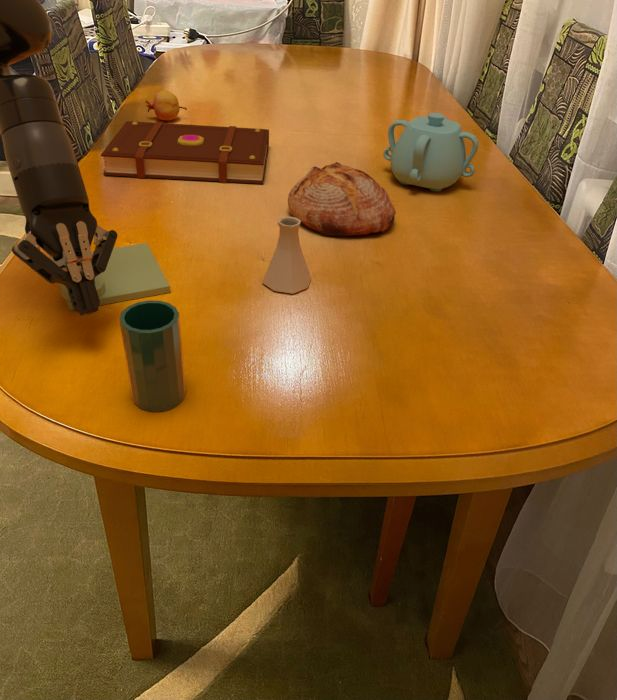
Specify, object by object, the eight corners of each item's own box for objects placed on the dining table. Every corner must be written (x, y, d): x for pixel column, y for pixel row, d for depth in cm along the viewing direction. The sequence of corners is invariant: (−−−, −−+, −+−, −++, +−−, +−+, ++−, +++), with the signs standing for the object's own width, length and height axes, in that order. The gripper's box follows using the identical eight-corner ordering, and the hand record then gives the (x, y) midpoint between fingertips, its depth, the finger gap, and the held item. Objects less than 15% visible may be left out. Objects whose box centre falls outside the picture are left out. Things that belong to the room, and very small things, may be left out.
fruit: (186, 91, 150) (144, 89, 149) (186, 91, 144) (142, 89, 142) (187, 120, 153) (146, 119, 151) (187, 122, 147) (144, 120, 145)
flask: (279, 265, 95) (281, 206, 89) (319, 279, 93) (324, 218, 87) (253, 284, 90) (253, 223, 84) (294, 300, 88) (298, 237, 82)
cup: (139, 417, 67) (126, 337, 60) (127, 384, 71) (114, 306, 64) (191, 404, 69) (185, 325, 62) (177, 372, 73) (170, 295, 67)
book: (263, 185, 121) (263, 160, 118) (103, 176, 119) (99, 151, 116) (268, 146, 139) (269, 124, 136) (130, 138, 137) (127, 116, 134)
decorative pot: (376, 167, 132) (384, 102, 124) (444, 165, 136) (456, 101, 127) (401, 197, 120) (412, 128, 112) (476, 194, 123) (491, 126, 115)
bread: (292, 200, 118) (295, 148, 112) (394, 211, 116) (401, 158, 111) (279, 233, 104) (281, 175, 99) (393, 245, 103) (401, 187, 97)
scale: (66, 313, 82) (63, 297, 80) (53, 263, 92) (49, 248, 90) (171, 293, 87) (170, 278, 86) (147, 248, 97) (146, 234, 96)
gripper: (81, 179, 78) (120, 308, 80) (-25, 183, 69) (22, 330, 70) (111, 159, 73) (151, 297, 75) (1, 160, 64) (51, 320, 65)
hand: (89, 313), depth 73 cm, fingers closed
